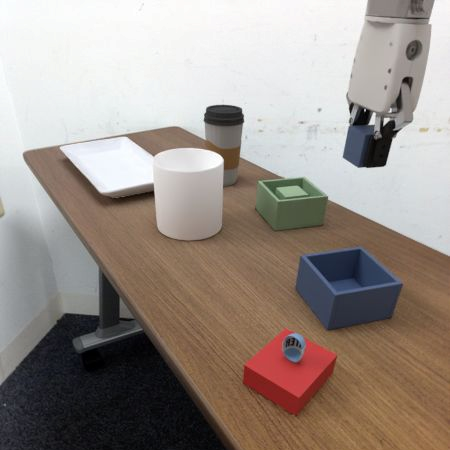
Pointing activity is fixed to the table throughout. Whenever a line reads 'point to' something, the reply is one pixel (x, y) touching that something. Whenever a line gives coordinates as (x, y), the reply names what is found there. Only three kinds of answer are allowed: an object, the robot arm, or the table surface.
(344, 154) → the slate block
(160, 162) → the cup
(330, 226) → the table surface
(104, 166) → the tray
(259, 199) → the sage bin
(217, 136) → the coffee cup
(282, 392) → the red rectangular block
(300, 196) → the sage block
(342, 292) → the slate bin
